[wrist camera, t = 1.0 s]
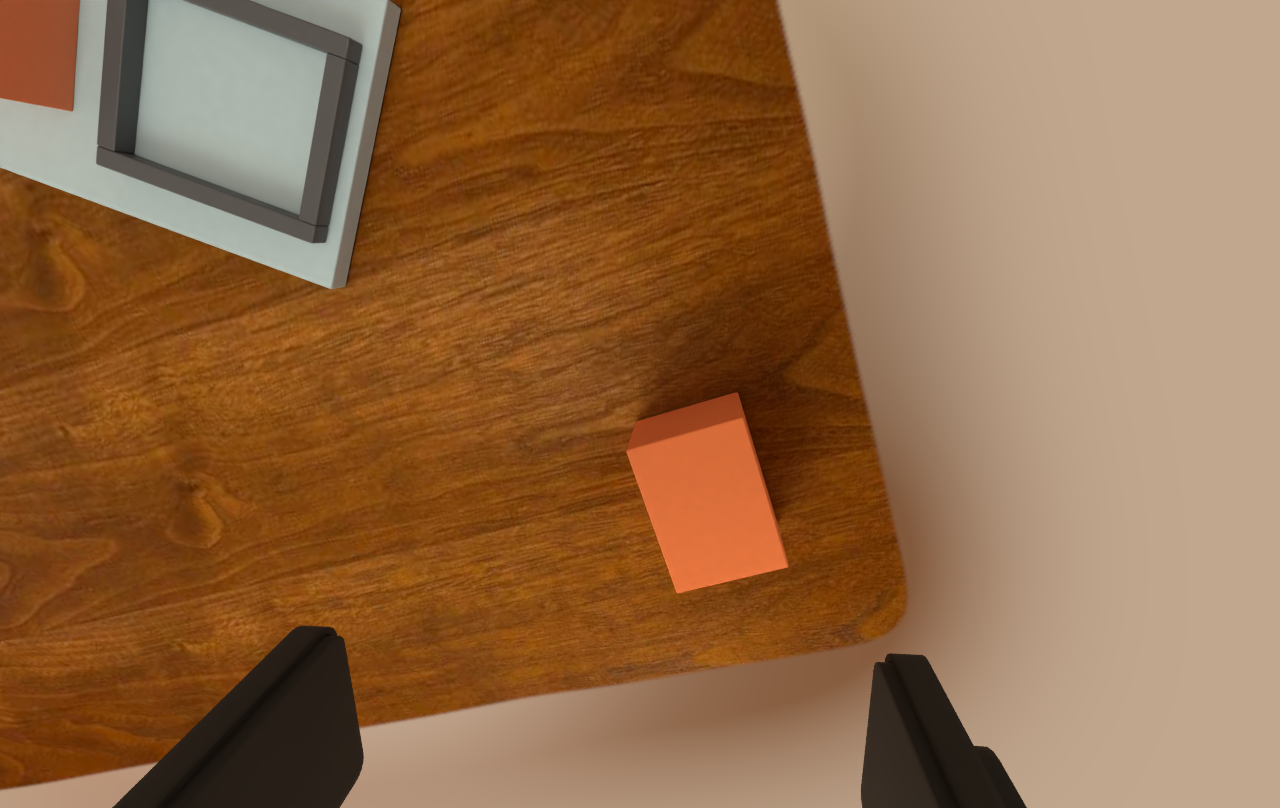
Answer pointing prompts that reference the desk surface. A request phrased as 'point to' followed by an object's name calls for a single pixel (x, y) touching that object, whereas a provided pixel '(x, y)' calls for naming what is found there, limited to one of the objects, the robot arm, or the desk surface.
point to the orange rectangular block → (706, 494)
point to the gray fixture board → (204, 116)
